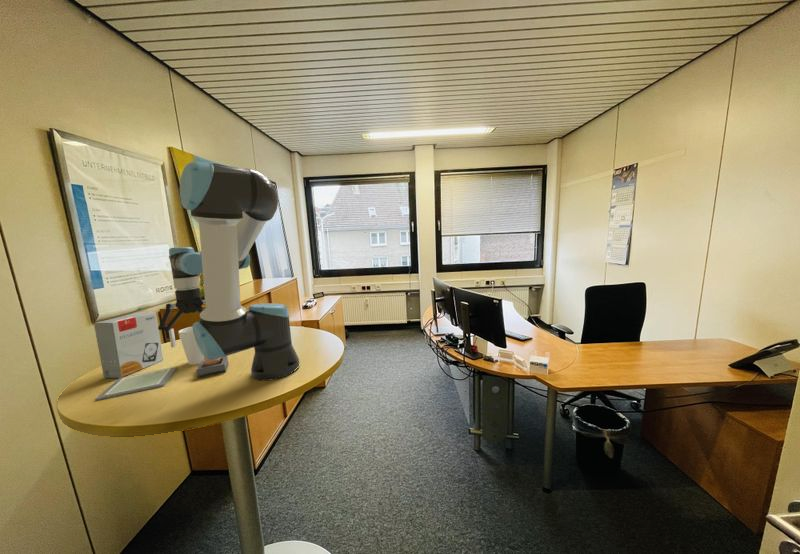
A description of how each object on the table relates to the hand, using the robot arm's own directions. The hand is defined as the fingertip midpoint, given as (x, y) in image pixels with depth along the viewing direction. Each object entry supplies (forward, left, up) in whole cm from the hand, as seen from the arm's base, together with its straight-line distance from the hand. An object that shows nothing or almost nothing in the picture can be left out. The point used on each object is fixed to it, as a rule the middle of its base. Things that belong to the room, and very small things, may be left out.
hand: (195, 342), depth 108 cm
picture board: (-11, +14, -7) cm, 19 cm away
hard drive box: (+5, +21, -8) cm, 23 cm away
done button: (-14, -7, -5) cm, 17 cm away
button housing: (-14, -7, -7) cm, 18 cm away
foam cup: (0, 0, -8) cm, 8 cm away
